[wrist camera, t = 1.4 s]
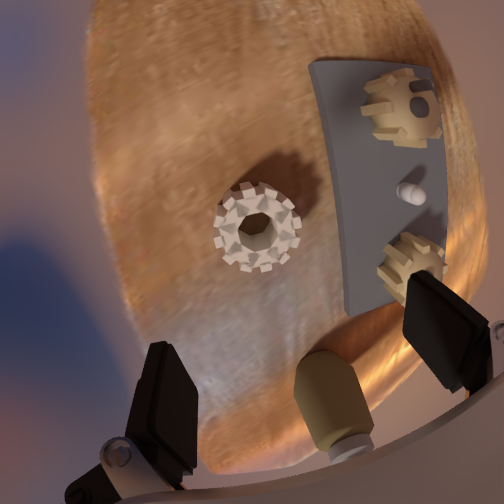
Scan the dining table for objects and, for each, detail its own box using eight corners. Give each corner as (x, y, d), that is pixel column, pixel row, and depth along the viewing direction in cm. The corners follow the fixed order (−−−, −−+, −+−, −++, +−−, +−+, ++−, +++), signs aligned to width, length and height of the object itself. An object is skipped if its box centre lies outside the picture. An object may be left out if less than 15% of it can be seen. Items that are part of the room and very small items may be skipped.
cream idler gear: (206, 192, 23) (202, 201, 19) (281, 173, 23) (293, 179, 20) (225, 261, 26) (226, 281, 22) (295, 243, 26) (307, 260, 22)
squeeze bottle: (343, 334, 31) (410, 454, 15) (347, 372, 34) (396, 476, 18) (281, 355, 31) (319, 490, 15) (293, 391, 34) (325, 503, 18)
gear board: (307, 65, 20) (340, 39, 13) (422, 69, 20) (468, 59, 13) (344, 310, 30) (372, 352, 23) (435, 277, 30) (470, 305, 23)
